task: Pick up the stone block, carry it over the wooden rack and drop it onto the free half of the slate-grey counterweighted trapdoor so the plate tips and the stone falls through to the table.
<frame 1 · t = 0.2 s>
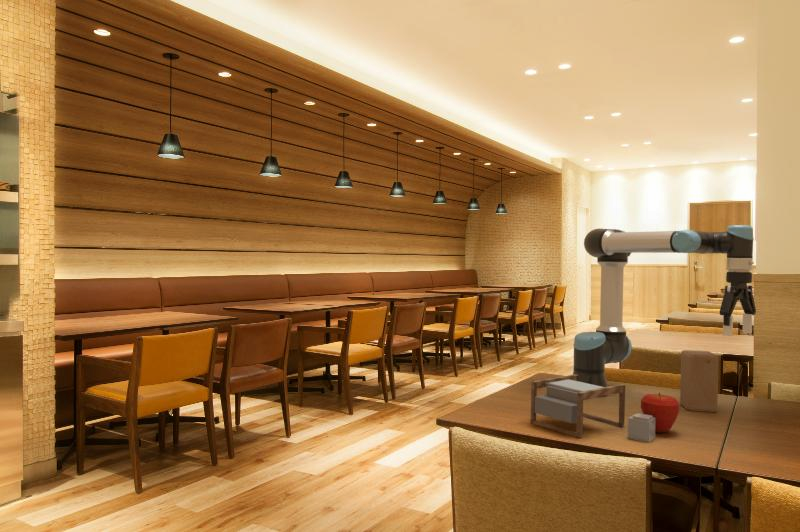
hand: (737, 334, 196), 28 cm above the table, fingers open, 13 cm apart
trapdoor: (570, 399, 182), point 8 cm above the table, hinge at 0.0°
stone: (641, 438, 171), on the table
wooden rack: (577, 424, 184), on the table
wooden block: (698, 409, 207), on the table
apple: (659, 432, 178), on the table
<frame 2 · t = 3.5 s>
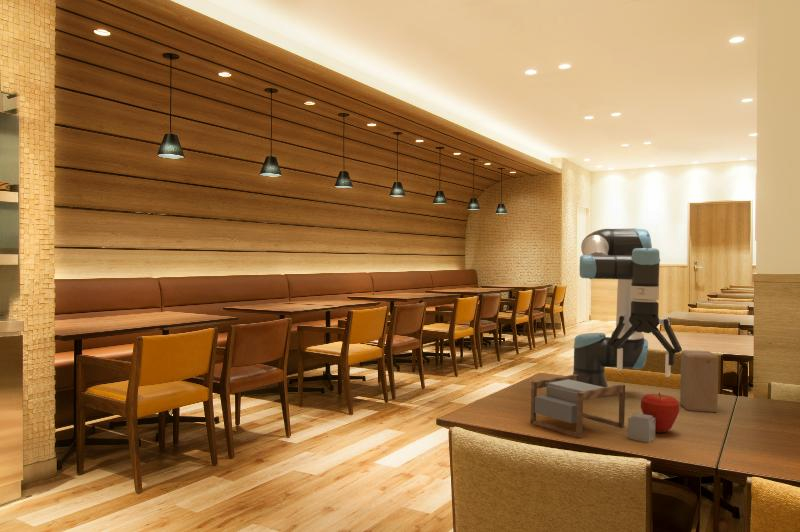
hand: (643, 373, 171), 19 cm above the table, fingers open, 13 cm apart
nothing on the table moved.
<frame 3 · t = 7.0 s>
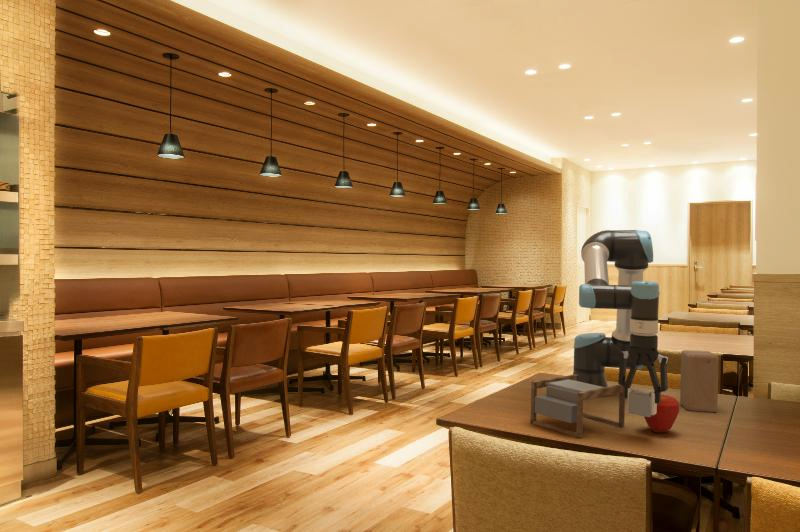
hand: (641, 411, 172), 8 cm above the table, fingers closed on stone, 6 cm apart
stone: (641, 413, 172), point 7 cm above the table, touching gripper
everything else where it was.
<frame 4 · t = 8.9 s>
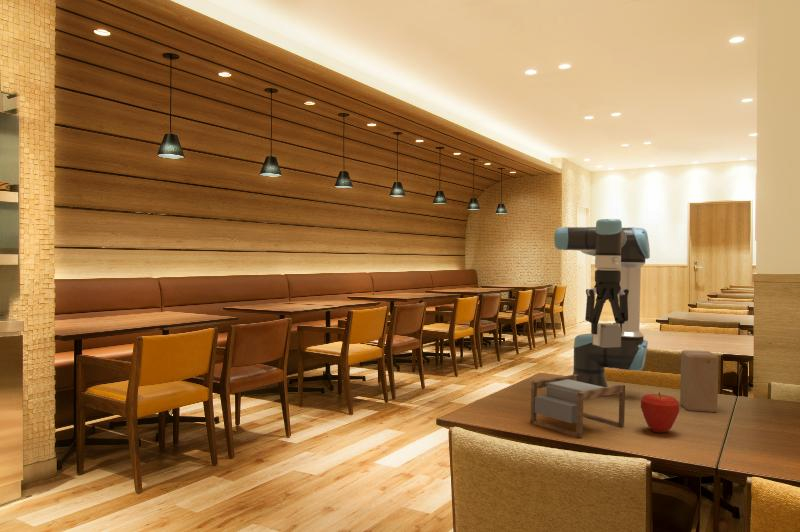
hand: (606, 344, 179), 26 cm above the table, fingers closed on stone, 6 cm apart
stone: (606, 345, 179), point 26 cm above the table, touching gripper
everything else where it was.
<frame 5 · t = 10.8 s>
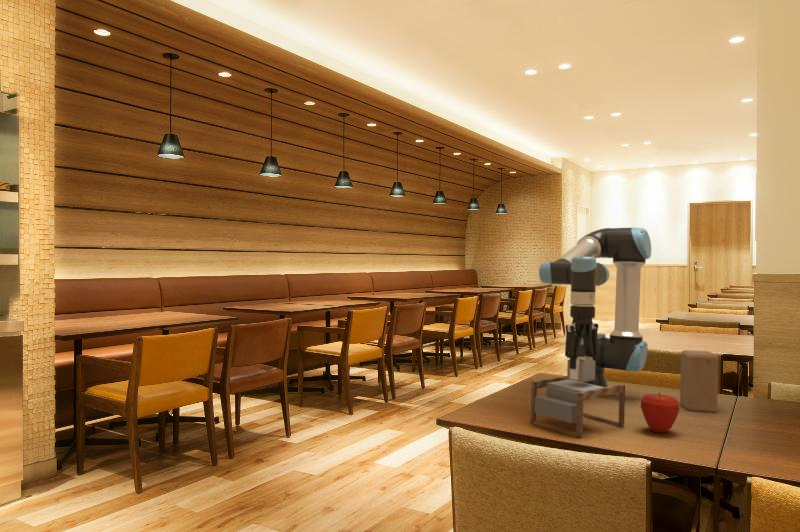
hand: (581, 378, 185), 15 cm above the table, fingers closed on stone, 6 cm apart
stone: (581, 379, 185), point 14 cm above the table, touching gripper
everything else where it was.
when the fingers open (13 cm above the table, at t = 11.3 s): stone drops 10 cm and tips over, point 3 cm above the table.
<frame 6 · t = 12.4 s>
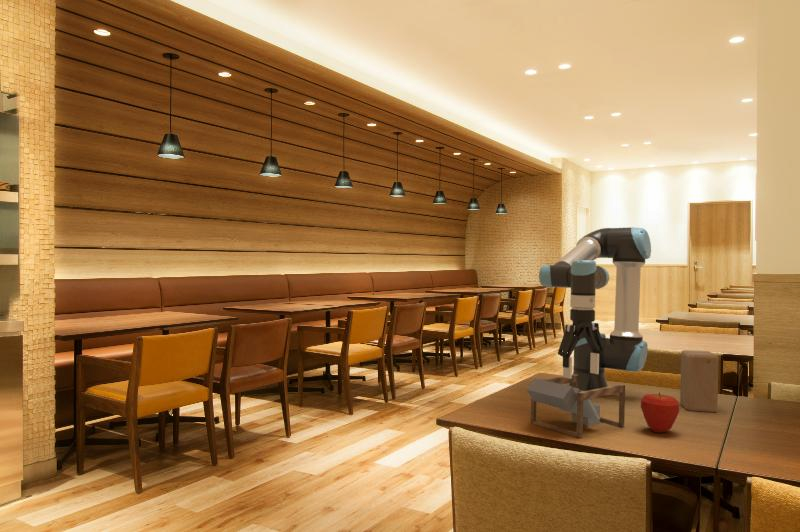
hand: (581, 375, 185), 15 cm above the table, fingers open, 13 cm apart
trapdoor: (562, 403, 180), point 8 cm above the table, hinge at 51.6°
stone: (580, 415, 185), point 3 cm above the table, tilted 90°
everything else where it was.
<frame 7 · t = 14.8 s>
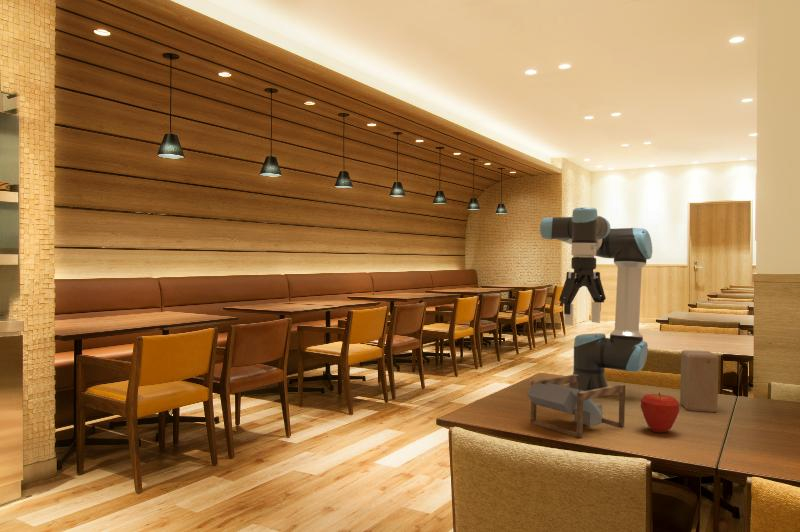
hand: (582, 323, 185), 32 cm above the table, fingers open, 13 cm apart
trapdoor: (564, 403, 180), point 8 cm above the table, hinge at 41.6°
stone: (582, 414, 185), point 3 cm above the table, tilted 90°
everything else where it was.
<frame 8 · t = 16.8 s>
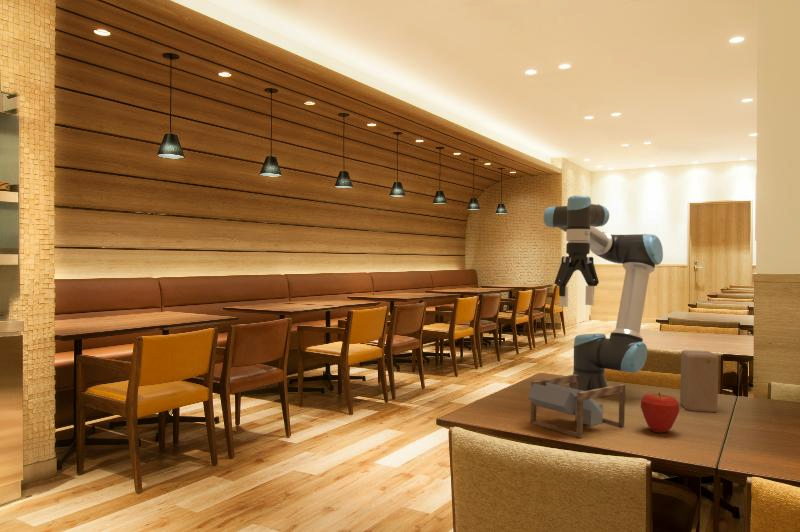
hand: (576, 305, 195), 37 cm above the table, fingers open, 13 cm apart
trapdoor: (564, 403, 180), point 8 cm above the table, hinge at 37.9°, touching stone
stone: (583, 413, 186), point 3 cm above the table, tilted 90°, touching trapdoor
everything else where it was.
at the end: stone inside the target area (3.0 cm from its centre), point 3.0 cm above the table; the gripper is holding nothing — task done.
